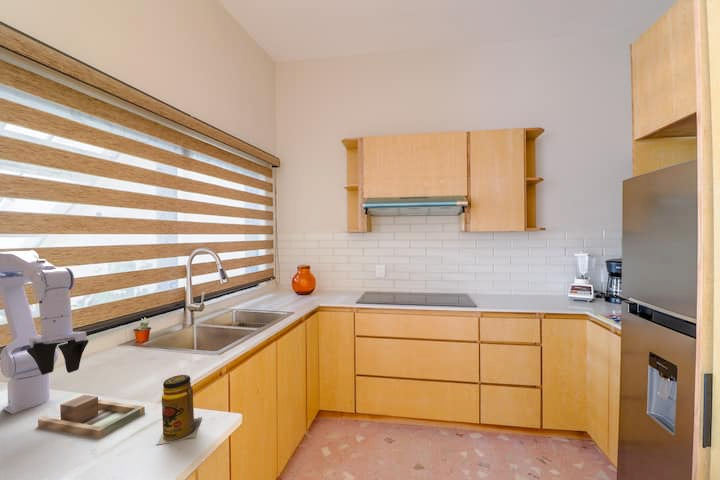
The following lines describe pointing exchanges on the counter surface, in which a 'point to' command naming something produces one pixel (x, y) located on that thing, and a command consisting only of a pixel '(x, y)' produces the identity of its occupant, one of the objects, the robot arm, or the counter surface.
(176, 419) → the condiment
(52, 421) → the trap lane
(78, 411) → the walnut block
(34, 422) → the counter surface
